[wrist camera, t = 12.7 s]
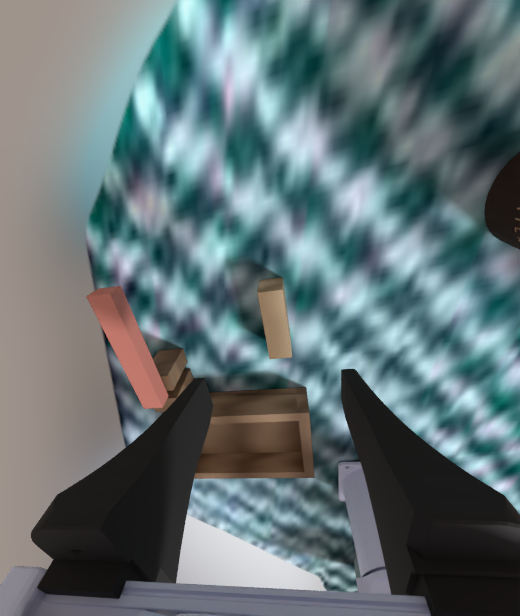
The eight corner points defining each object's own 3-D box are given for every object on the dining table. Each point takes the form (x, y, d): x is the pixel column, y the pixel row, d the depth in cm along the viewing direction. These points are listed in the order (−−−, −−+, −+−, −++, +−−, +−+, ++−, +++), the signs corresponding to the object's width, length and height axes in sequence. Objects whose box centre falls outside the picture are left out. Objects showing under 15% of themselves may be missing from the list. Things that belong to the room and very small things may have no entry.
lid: (359, 244, 18) (372, 255, 16) (357, 344, 23) (367, 366, 20) (186, 268, 20) (172, 282, 18) (214, 356, 25) (206, 378, 22)
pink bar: (120, 285, 16) (109, 293, 15) (168, 395, 21) (162, 407, 20) (98, 288, 16) (86, 296, 15) (150, 397, 21) (143, 408, 20)
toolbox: (302, 338, 22) (305, 366, 19) (311, 450, 29) (315, 484, 26) (154, 350, 24) (134, 378, 21) (197, 452, 31) (187, 484, 28)
